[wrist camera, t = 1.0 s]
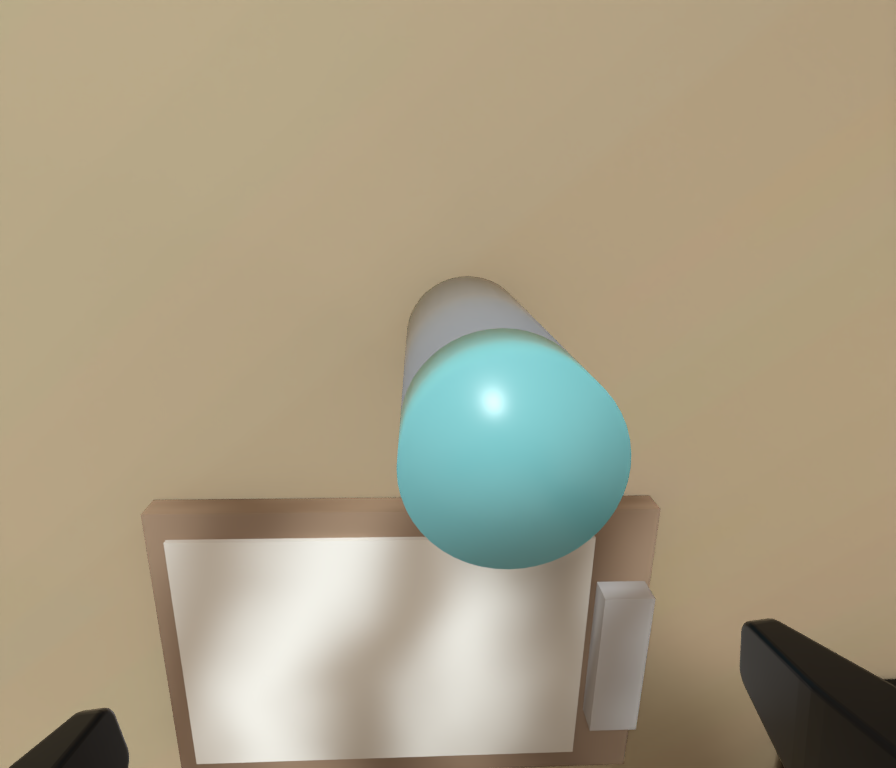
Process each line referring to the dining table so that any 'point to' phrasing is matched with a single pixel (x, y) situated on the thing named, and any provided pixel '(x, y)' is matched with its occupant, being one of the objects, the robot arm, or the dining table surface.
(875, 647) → the dining table surface
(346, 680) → the clipboard
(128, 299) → the dining table surface
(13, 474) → the dining table surface
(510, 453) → the marker
